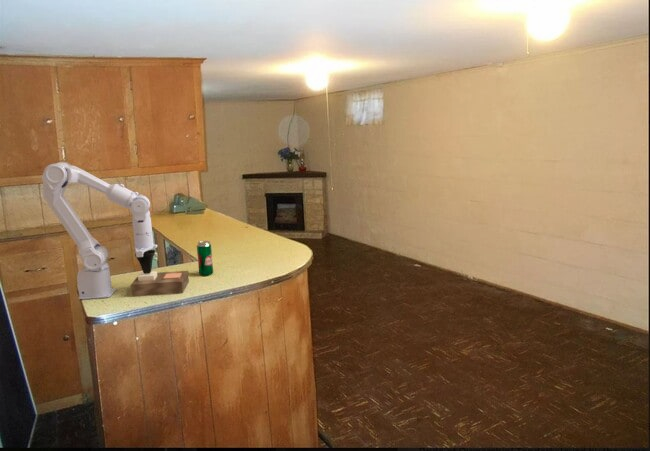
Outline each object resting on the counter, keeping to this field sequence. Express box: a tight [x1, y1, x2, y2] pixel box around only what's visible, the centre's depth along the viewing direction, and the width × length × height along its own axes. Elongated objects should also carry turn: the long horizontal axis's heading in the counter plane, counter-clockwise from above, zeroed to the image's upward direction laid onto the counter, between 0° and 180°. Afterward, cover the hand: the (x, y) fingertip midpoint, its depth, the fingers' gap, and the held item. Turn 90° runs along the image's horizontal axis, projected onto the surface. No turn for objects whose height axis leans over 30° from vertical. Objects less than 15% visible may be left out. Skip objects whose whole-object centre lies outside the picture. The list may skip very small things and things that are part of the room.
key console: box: [130, 270, 190, 297], centre depth 166 cm, size 16×12×4 cm
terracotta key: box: [163, 273, 182, 280], centre depth 167 cm, size 5×5×2 cm
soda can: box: [196, 240, 214, 277], centre depth 181 cm, size 5×5×12 cm
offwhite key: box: [137, 270, 158, 281], centre depth 166 cm, size 5×5×2 cm
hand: (147, 272), depth 165 cm, fingers closed
